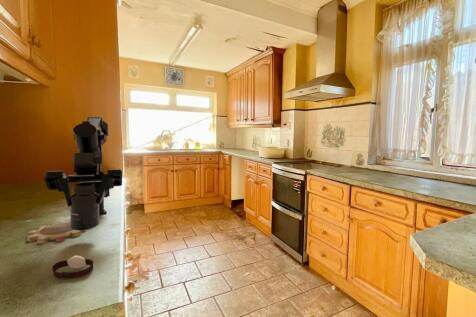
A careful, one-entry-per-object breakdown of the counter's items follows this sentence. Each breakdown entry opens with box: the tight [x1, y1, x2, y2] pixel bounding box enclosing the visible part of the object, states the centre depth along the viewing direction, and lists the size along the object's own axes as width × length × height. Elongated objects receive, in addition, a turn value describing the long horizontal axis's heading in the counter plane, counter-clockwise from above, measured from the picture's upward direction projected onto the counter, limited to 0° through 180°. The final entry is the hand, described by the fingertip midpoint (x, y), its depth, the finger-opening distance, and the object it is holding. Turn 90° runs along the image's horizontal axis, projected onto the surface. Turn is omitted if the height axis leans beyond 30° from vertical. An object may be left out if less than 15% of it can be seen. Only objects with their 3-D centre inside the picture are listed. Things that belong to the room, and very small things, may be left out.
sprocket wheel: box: [26, 220, 87, 244], centre depth 73 cm, size 14×14×1 cm
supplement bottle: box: [69, 182, 100, 231], centre depth 67 cm, size 7×7×12 cm
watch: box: [51, 254, 94, 280], centre depth 52 cm, size 8×5×4 cm, turn 99°
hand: (84, 204), depth 66 cm, fingers closed on supplement bottle, 7 cm apart
